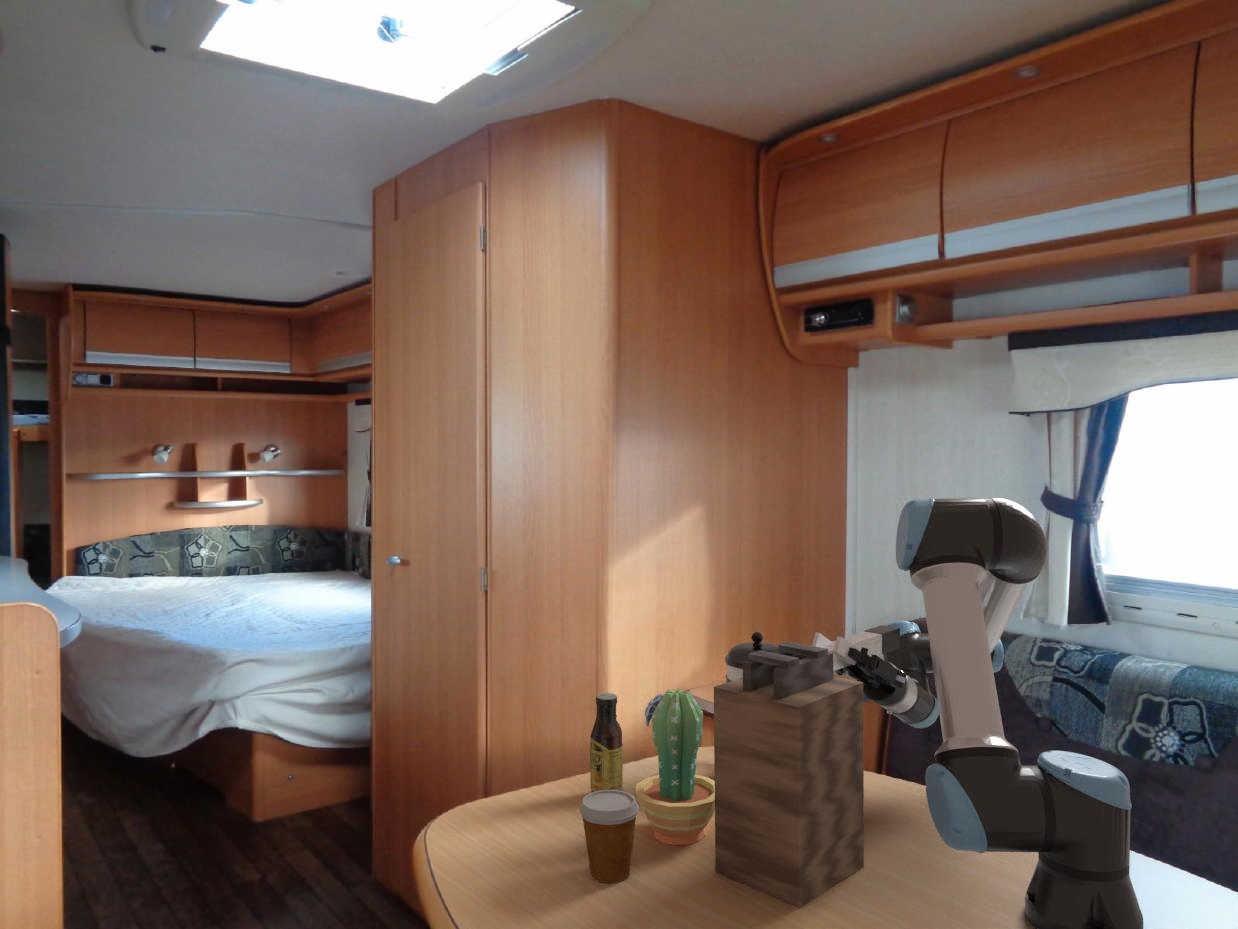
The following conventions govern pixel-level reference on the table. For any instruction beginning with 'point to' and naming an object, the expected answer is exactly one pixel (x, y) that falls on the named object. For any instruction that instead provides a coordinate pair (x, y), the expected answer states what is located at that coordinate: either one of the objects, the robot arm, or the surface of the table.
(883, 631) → the white bar dark ends
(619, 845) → the disposable coffee cup
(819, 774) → the walnut post
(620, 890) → the table surface
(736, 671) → the coffee press
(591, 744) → the sauce bottle
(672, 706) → the potted cactus
